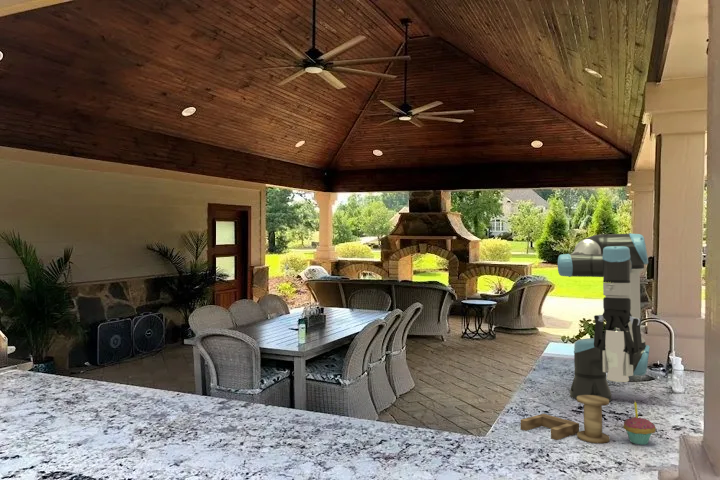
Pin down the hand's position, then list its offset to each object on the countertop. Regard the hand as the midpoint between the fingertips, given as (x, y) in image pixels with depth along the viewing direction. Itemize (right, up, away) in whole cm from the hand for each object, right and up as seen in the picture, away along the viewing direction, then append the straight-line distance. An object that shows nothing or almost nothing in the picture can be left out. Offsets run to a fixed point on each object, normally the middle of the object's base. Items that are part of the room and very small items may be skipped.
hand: (617, 373), depth 162 cm
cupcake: (+5, -20, -2) cm, 21 cm away
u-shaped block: (-18, -20, +8) cm, 28 cm away
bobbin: (-7, -20, +1) cm, 21 cm away
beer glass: (0, -2, 0) cm, 2 cm away
